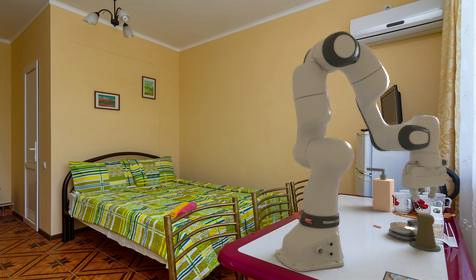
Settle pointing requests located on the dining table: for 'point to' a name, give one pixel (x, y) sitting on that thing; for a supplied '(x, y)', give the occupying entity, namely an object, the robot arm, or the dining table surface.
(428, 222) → the cork
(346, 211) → the dining table surface
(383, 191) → the soap dispenser
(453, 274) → the dining table surface
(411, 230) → the saucepan
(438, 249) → the coaster
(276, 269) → the dining table surface
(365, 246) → the dining table surface
